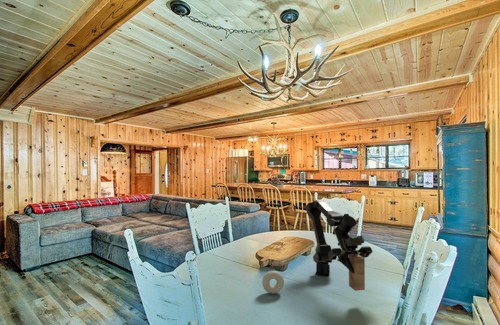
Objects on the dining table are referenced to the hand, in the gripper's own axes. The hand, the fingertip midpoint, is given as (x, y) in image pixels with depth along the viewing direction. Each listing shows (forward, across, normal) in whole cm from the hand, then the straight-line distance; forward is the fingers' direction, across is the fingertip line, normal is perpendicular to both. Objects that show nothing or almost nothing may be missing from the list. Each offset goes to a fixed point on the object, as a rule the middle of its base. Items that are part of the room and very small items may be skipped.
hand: (358, 272), depth 102 cm
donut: (-1, -32, +21) cm, 38 cm away
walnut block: (+4, 0, +6) cm, 7 cm away
